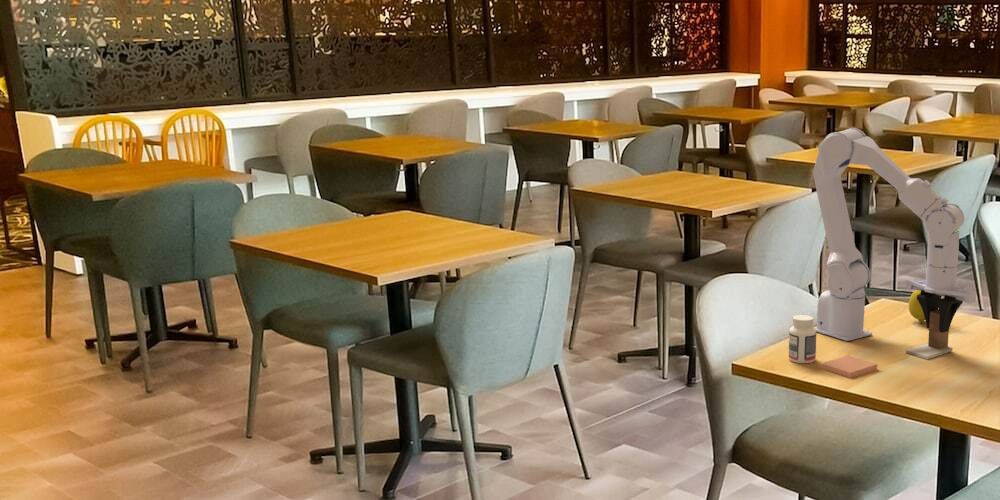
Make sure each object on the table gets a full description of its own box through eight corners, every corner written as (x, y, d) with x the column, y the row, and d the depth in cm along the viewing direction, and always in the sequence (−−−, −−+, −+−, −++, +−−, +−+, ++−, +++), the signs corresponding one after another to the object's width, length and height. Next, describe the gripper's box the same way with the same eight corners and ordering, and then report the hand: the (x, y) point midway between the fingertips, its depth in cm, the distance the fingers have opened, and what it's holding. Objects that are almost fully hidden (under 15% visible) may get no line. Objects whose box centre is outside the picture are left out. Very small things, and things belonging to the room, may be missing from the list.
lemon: (936, 326, 227) (939, 291, 225) (910, 325, 228) (912, 290, 226) (931, 318, 232) (934, 284, 230) (905, 318, 233) (907, 284, 232)
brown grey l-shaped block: (905, 353, 210) (907, 315, 208) (931, 344, 214) (933, 307, 213) (927, 359, 206) (928, 321, 204) (953, 350, 210) (955, 312, 208)
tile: (847, 362, 207) (820, 371, 203) (848, 355, 207) (821, 363, 203) (877, 371, 202) (850, 380, 197) (877, 364, 201) (850, 372, 197)
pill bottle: (816, 356, 210) (817, 314, 208) (814, 364, 205) (816, 322, 203) (789, 354, 212) (790, 312, 210) (787, 362, 207) (788, 320, 205)
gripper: (898, 261, 211) (894, 324, 214) (961, 274, 199) (957, 341, 202) (920, 256, 215) (916, 318, 218) (984, 269, 203) (979, 335, 206)
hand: (937, 329), depth 210 cm, fingers closed on brown grey l-shaped block, 2 cm apart
